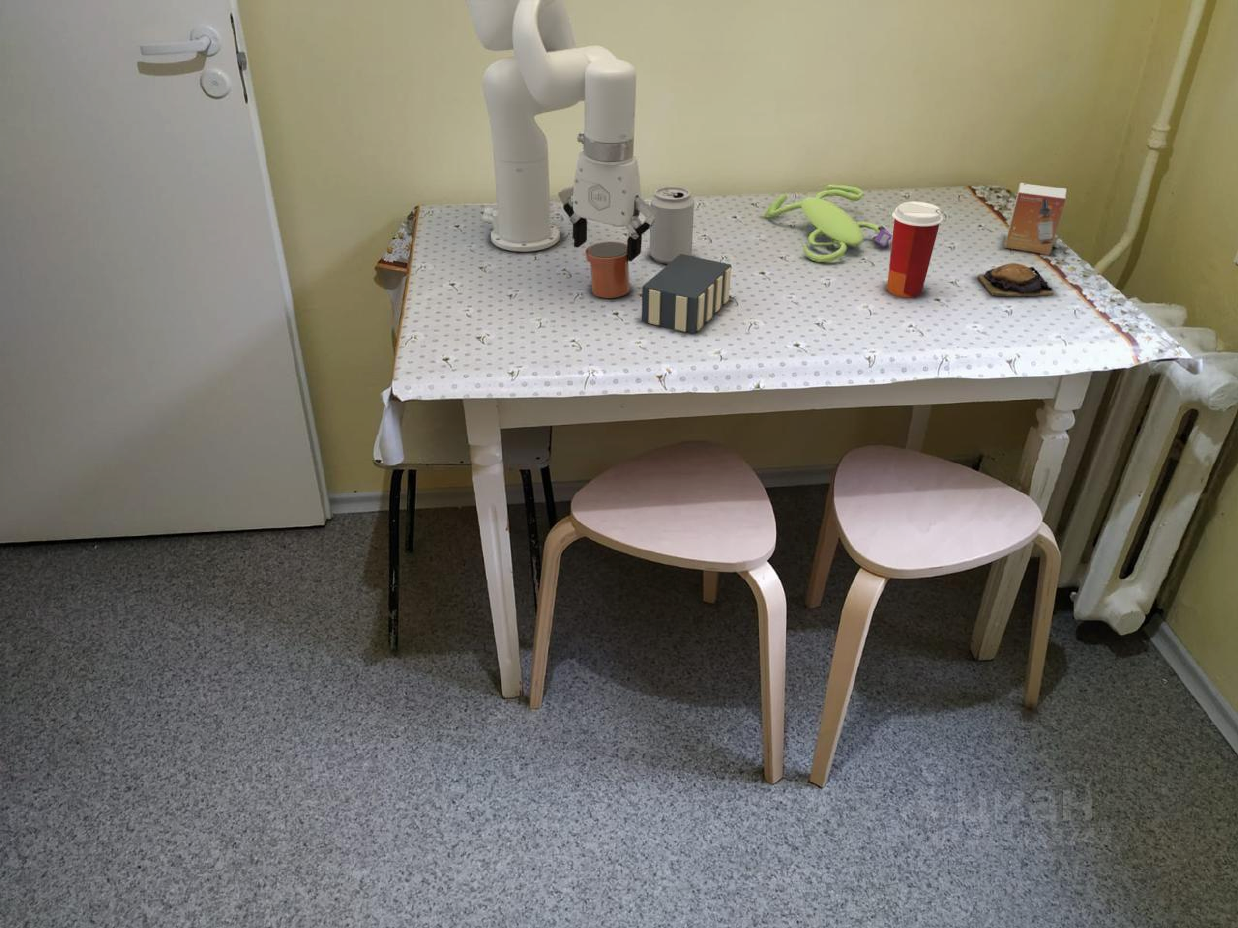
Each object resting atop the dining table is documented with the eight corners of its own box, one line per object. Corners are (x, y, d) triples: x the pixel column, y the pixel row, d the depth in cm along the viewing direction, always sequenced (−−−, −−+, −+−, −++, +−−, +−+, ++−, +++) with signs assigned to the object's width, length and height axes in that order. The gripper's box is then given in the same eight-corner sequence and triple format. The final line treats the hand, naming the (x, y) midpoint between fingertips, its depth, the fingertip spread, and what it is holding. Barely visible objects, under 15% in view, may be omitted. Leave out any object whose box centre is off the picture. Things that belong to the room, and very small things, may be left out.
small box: (1003, 248, 179) (1017, 192, 173) (1006, 237, 183) (1019, 181, 177) (1050, 255, 176) (1066, 198, 170) (1052, 244, 181) (1067, 187, 174)
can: (688, 267, 172) (691, 200, 165) (645, 264, 173) (647, 197, 166) (694, 250, 178) (697, 185, 171) (653, 247, 179) (654, 182, 172)
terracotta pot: (580, 295, 163) (577, 254, 159) (601, 278, 168) (599, 238, 164) (620, 302, 160) (618, 261, 156) (640, 285, 165) (639, 244, 161)
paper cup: (930, 284, 166) (946, 203, 158) (926, 303, 161) (942, 220, 152) (882, 277, 169) (896, 197, 160) (877, 296, 163) (890, 214, 155)
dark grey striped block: (640, 322, 155) (641, 287, 151) (678, 287, 165) (680, 253, 162) (695, 335, 151) (696, 299, 148) (730, 299, 162) (733, 264, 158)
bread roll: (991, 299, 162) (996, 278, 160) (974, 276, 169) (979, 256, 167) (1055, 297, 163) (1061, 276, 160) (1036, 275, 169) (1041, 255, 167)
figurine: (846, 204, 197) (850, 176, 194) (909, 257, 176) (914, 227, 172) (758, 212, 193) (761, 183, 190) (811, 266, 172) (815, 236, 169)
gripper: (547, 144, 151) (548, 247, 161) (649, 166, 145) (643, 272, 155) (571, 129, 156) (571, 231, 167) (670, 150, 150) (664, 254, 161)
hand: (606, 251), depth 161 cm, fingers open, 9 cm apart
